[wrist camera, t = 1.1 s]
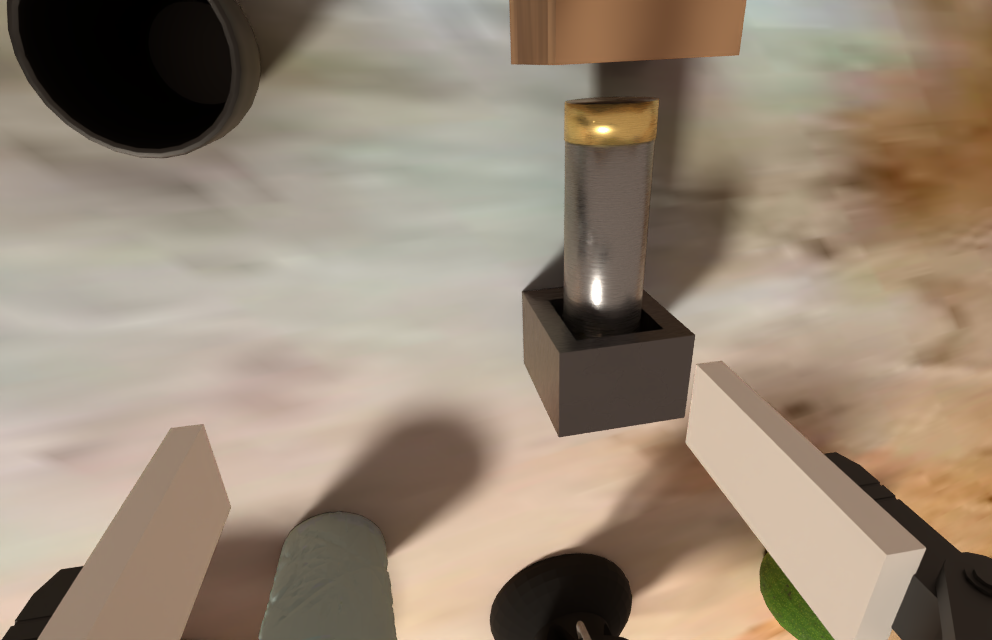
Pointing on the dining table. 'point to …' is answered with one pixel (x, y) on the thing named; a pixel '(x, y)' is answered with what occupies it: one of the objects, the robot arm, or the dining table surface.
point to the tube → (606, 212)
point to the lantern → (563, 601)
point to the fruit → (789, 604)
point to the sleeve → (606, 367)
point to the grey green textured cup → (331, 583)
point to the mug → (139, 69)
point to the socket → (623, 30)
